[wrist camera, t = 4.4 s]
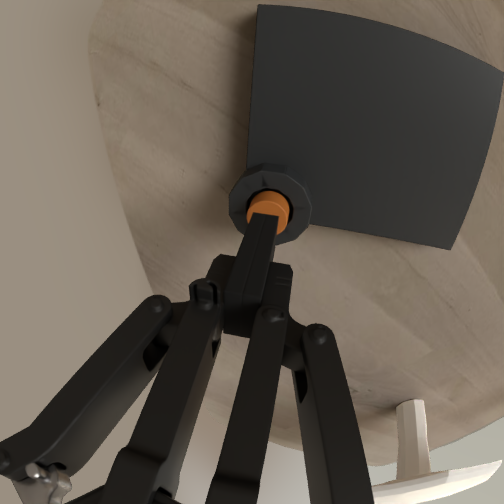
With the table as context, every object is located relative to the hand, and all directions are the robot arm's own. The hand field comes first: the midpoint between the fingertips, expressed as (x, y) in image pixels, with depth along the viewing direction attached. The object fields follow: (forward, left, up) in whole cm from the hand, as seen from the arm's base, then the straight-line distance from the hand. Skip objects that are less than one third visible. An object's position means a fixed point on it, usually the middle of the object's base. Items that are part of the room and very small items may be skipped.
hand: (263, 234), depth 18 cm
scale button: (0, 0, -3) cm, 3 cm away
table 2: (+26, -32, -7) cm, 42 cm away
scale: (+6, +6, -6) cm, 11 cm away
